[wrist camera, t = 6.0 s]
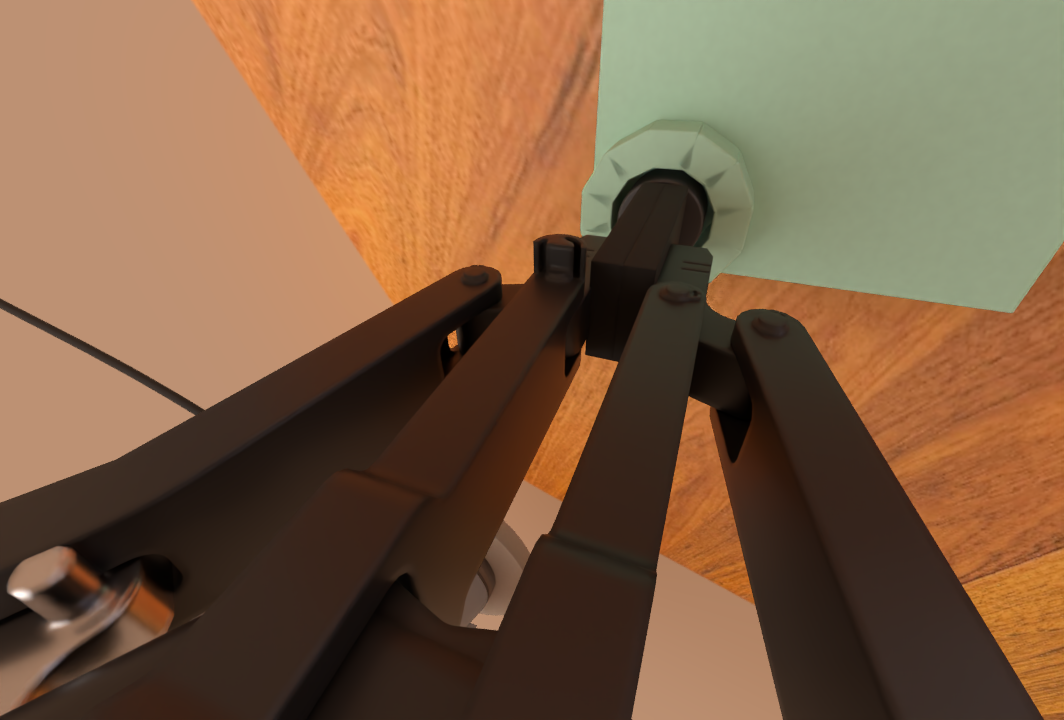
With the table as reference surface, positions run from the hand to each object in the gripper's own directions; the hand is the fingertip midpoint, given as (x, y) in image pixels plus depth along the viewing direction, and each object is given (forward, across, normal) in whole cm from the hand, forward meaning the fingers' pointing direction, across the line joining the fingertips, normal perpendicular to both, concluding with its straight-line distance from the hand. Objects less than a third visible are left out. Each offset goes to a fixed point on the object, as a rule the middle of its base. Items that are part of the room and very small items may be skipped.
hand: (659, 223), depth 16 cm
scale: (+4, +4, +4) cm, 7 cm away
